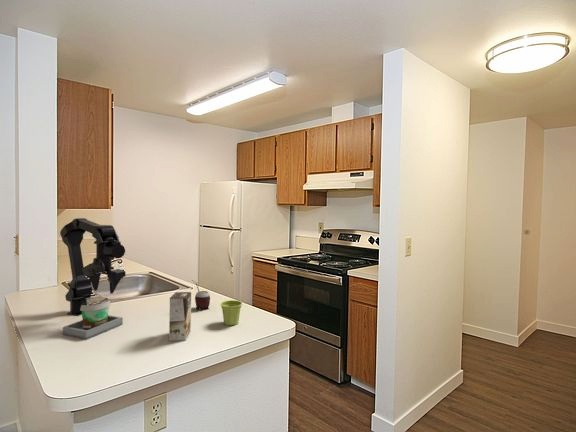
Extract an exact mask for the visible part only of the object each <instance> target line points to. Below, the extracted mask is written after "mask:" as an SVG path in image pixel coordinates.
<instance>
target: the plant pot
mask: <svg viewBox="0 0 576 432" xmlns="http://www.w3.org/2000/svg"><path fill="white" fill-rule="evenodd" d="M219 305H220V307H221V310H222V318H223V323H224V325H226V326H232V325H234V326H236V325H238V324H239V321H240V315H241V308H242V305H243V302H242V301H241V300H233V299H232V300H225V301H222V302H220V304H219Z"/></svg>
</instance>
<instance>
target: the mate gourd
mask: <svg viewBox="0 0 576 432" xmlns="http://www.w3.org/2000/svg"><path fill="white" fill-rule="evenodd" d="M191 281H192V282H194V283H195V286H196V288H197V292H196V293H195V296H194V302H195V309H196V310H199V312H202V311H203V310H210V308H209V306H210V304H211V303H210V301H211V296H210V292H209V291H207V290H206V291H205V290H202V291H200V289H199V286H198V285H199V284H198V283H197V282H196V280H193V279H192V280H191Z"/></svg>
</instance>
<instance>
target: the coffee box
mask: <svg viewBox="0 0 576 432" xmlns="http://www.w3.org/2000/svg"><path fill="white" fill-rule="evenodd" d="M191 322H192V292H191V291H176V292H175V293H173V294H172V295H171V296H170V297H169V324H168V325H169V326H168V328H169V329H168V330H169V331H168V340H169V341H170V342H171V341H187V339H188V337H189V335H190V333H191V332H192V329H191V327H192V326H191V325H192V323H191Z"/></svg>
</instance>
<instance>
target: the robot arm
mask: <svg viewBox="0 0 576 432" xmlns="http://www.w3.org/2000/svg"><path fill="white" fill-rule="evenodd" d="M86 232H87V233H90V234H91V237H93V238H94V239H95V240H94V242H93V244H94V245H96V247H95V248H96V249H95V250H96V251H95V253H96V254H95V257H94V258H93V260H92V262H90V263H88V264H87V265H86V266H85V265H84V262H83V254H82V248H81V247H82V246H81V243H82V242H83V240H84V234H85V233H86ZM59 233H60V237H61V240H62V242H63V243H64V245H66V247H67V250H68V257H69V264H70V271H71V272H70V273H71V277H72V279H71V281H70V283H69V285H68V286H69V287H68V288H69V289H68V291H67V292H66V294H65V301H67V302H69V303H70V305H69V306H70V307H69V309H70V311H68V312H66V314H68V315H71V316H72V315H73V316H80V315H82V311H80V308H81V305H88V302H87V301H88V300H87V299H90V298H91V296H92V292H93V291H98V288H99V284H100V280H101V276H102V275H107V276H106V277H107V278H106V280H107V281H108V282H109V294H112V295H113V294H114V292H115V291H116V288H117V287H118V285H119V283H120V282H121V280H122V279H123V278H124V277H126V274H127V273H126V270H124V269H120V268H115V267H114V266H112V261H113V260H115V259H121V258H123V257H124V255H125V254H126V249H125V246H124V245H123V244H122V243H121V242H122V241H120V239H119V236H118V233H117V231H116V229H115V228H114V226H113V225H110V224H99V223H96V222H94V221H91V220H89V219H87V218H83V217H80V218H78V217H77V218H73V220H71V222H68V223H67V224H65V225H64V226H63V227H62V228H61V230H60V231H59Z"/></svg>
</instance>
